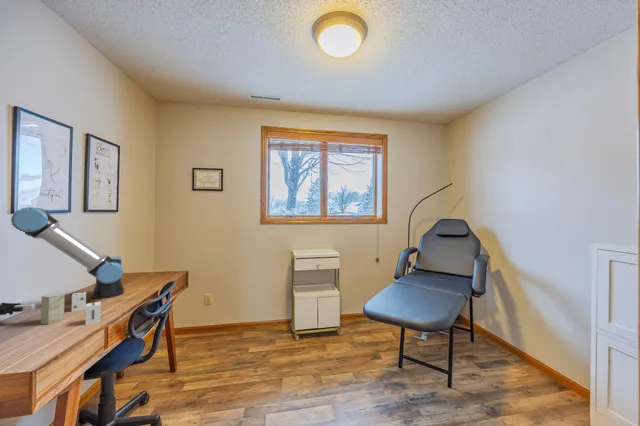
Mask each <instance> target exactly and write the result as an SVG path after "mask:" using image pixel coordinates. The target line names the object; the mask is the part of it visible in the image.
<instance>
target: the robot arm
mask: <svg viewBox="0 0 640 426" xmlns="http://www.w3.org/2000/svg"><path fill="white" fill-rule="evenodd" d="M10 222H11V224H12V225H13V226H14V227H15V228H16V229H18V230H20V231H23V232H25V234H26V235H28V236H29V237H32V238H34V239H41V240H44V241H45V242H47V243H48V244H49V245H51V246H53V247H54V248H56V249H57V250H59V251H61V252H62V253H64V254H65V255H67V256H68V257H70V258H71V259H73V260H74V261H76V262H77V263H78V264H81V265H82V266H84V267H85V268H86V269H87V271H86V273H88V274H89V275H91V276H93V277H95V285H94V288H93V290H92V292H91V298H92V299H106V298H113V297H117V296H120V295H122V294H124V293H125V288H124V285H123V283H122V276H123V274H124V268H123V265H122V260H123V259H122V257H121V256H109V255H107V254H104V255H103V254H101V253H99V252H97V251H96V250H95V249H94V248H91V247H90V246H89V245H88V244H87V243H85V242H83V241H82V240H80V239H79V238H78V237H76V236H74V235H73V234H71V233H70V232H68V230H66V229H64V228H63V227H61V226H60V221H59V220H57V219H56V218H55V217H53V216H52V215H51V214H50V213H49V212H48V211H47V210H45V209H43V208H39V207H35V206H34V207H33V206H28V207H23V208H21V209H18V210H16V211H15V212H14V213H13V215H12V216H11V219H10ZM35 310H36V305H35V304H33V303H31V304H22V303H21V302H17V303H14V302H1V303H0V316H5V315H7V314H8V315H9V316H12V315H13V314H14V313H26V312H27V313H28V312H29V313H30V312H33V311H35Z"/></svg>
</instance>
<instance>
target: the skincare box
mask: <svg viewBox="0 0 640 426" xmlns="http://www.w3.org/2000/svg"><path fill="white" fill-rule="evenodd" d="M65 295H66V293H64V292H56V293H52V294H46V295H44V296H43V295H42V296H41V304H40V305H41V306H40V307H41V308H40V324H41V325H42V324H43V325H50V324H53V323H56V322H60V321H63V320H64V319H65V298H66V297H65Z"/></svg>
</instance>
